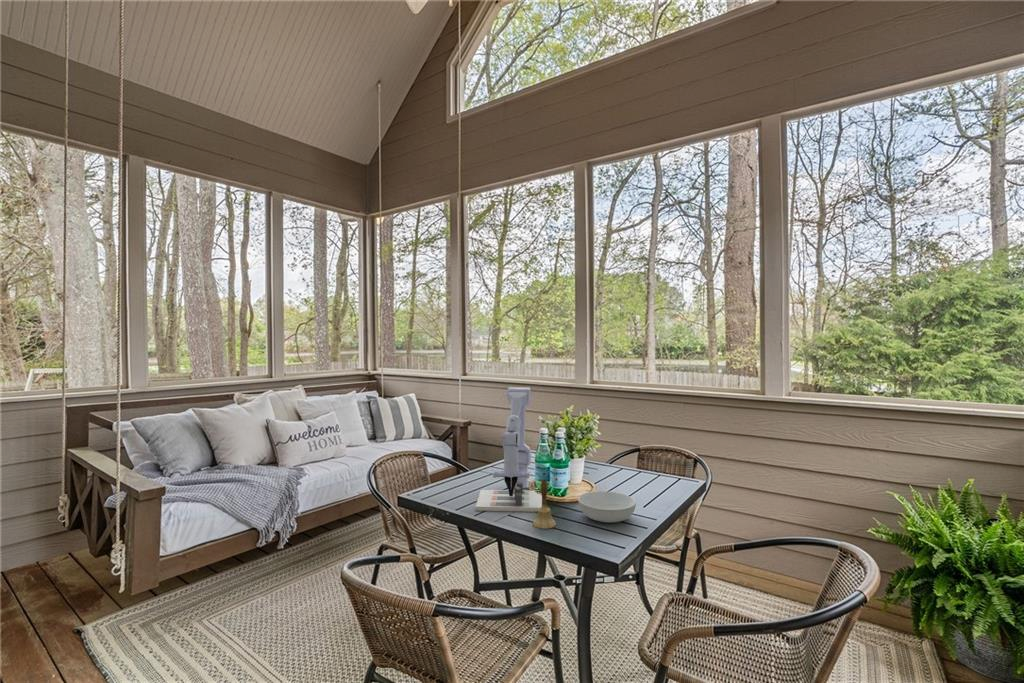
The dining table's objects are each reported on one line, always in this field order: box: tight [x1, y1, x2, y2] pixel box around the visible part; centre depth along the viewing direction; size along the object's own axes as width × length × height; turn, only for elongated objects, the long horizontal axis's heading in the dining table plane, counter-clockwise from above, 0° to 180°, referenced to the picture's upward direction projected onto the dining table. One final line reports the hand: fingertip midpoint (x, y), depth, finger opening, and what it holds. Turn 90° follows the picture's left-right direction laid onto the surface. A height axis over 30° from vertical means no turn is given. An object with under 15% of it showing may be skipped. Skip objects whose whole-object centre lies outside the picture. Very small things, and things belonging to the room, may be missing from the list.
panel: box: [474, 482, 542, 513], centre depth 191 cm, size 20×26×6 cm
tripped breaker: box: [514, 487, 521, 498], centre depth 191 cm, size 3×2×4 cm
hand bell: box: [532, 478, 557, 530], centre depth 169 cm, size 8×8×16 cm
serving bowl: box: [577, 490, 637, 524], centre depth 175 cm, size 21×21×7 cm
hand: (511, 495), depth 191 cm, fingers closed
